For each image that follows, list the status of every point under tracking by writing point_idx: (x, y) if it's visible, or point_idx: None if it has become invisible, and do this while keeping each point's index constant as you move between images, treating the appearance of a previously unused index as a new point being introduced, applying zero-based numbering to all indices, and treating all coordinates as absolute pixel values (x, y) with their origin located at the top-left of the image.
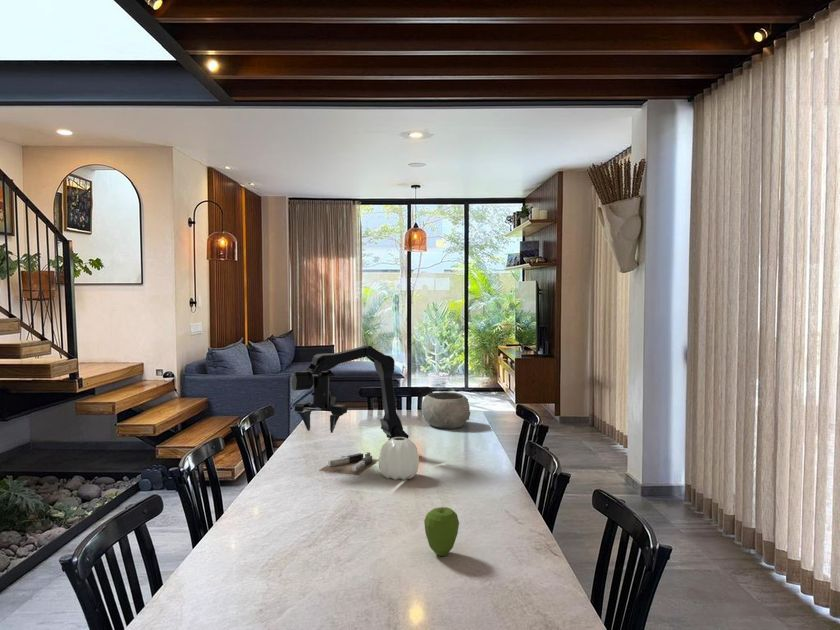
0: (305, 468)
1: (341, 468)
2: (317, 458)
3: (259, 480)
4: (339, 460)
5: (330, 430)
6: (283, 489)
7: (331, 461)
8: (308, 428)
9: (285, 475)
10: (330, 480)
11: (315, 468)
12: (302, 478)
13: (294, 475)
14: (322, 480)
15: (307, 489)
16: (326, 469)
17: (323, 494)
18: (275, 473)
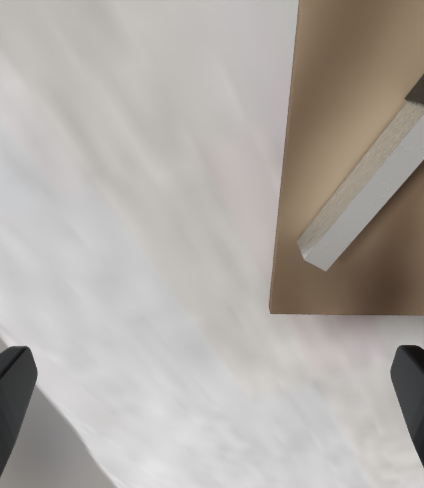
0: (164, 266)
1: (392, 249)
2: (101, 13)
3: (86, 440)
4: (376, 206)
5: (407, 420)
6: (227, 478)
7: (332, 263)
8: (23, 409)
9: (139, 376)
10: (366, 376)
11: (218, 249)
12: (233, 386)
13: (177, 366)
14: (330, 384)
15: (309, 462)
16: (307, 289)
17: (381, 480)
18: (78, 368)
